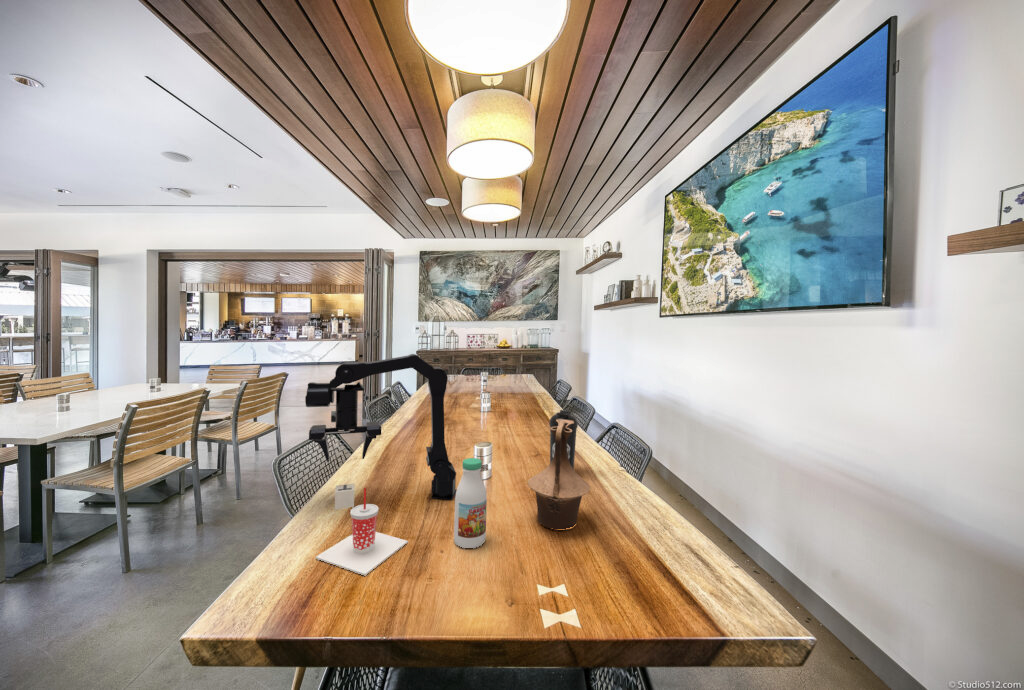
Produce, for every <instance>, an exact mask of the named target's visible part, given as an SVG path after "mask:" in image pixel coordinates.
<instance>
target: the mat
mask: <svg viewBox="0 0 1024 690" xmlns="http://www.w3.org/2000/svg"><path fill="white" fill-rule="evenodd" d="M407 543H408V544H409V541H408V540H407V539H402V538H399V537H395V536H392V535H389V534H386V533H382V532H378V531H376V533H375V545H374V549H373V550H372V551H370V552H368V553H364V554H357V553H355V552H354V551H353V535H352V534H350V535H349V536H347V537H345V538H344V539H342V540H340V541H339V542H337V543H336V544H334V545H332V546H331V547H329V548H328V549H326V550H323V552H320V554H317V555H316V556H315V560H316V559H318V560H317V561H319V560H321V561H324V562H327V563H330V564H333V565H336V566H339V567H341V568H344V569H347V570H350V571H353V572H355V573H358V574H361V575H364V576H366V575H367V574H368V573H369V572H370V571H372V570H373V569H374V568H375V567H377V566H378V565H379V564H381V563H382V562H383V561H385V560H386V559H387V558H388V557H390V556H391V555H392V554H394V553H395V552H396V551H398V550H399V549H400V548H401V549H402V547H403V546H404V545H405V544H407ZM408 544H407V545H408ZM405 546H406V545H405ZM405 546H404V547H405ZM404 547H403V548H404ZM401 549H400V550H401ZM400 550H399V551H400ZM399 551H398V552H399ZM396 553H397V552H396ZM396 553H395V554H396ZM395 554H394V555H395ZM392 556H393V555H392ZM392 556H391V557H392ZM391 557H390V558H391ZM387 560H388V559H387ZM387 560H386V561H387ZM321 561H320V562H321ZM386 561H385V562H386ZM324 562H323V563H324ZM327 563H326V564H327ZM383 563H384V562H383ZM383 563H382V564H383ZM330 564H329V565H330ZM382 564H381V565H382ZM333 565H332V566H333ZM336 566H335V567H336ZM378 567H379V566H378ZM378 567H377V568H378ZM341 568H340V569H341ZM344 569H343V570H344ZM347 570H346V571H347ZM350 571H349V572H350ZM373 571H374V570H373ZM373 571H372V572H373ZM353 572H352V573H353ZM355 573H354V574H355ZM358 574H357V575H358ZM369 574H370V573H369ZM369 574H368V575H369ZM361 575H360V576H361ZM368 575H367V576H368ZM364 576H363V577H364ZM367 576H366V577H367Z"/></svg>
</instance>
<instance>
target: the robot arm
mask: <svg viewBox="0 0 1024 690" xmlns="http://www.w3.org/2000/svg"><path fill="white" fill-rule="evenodd" d="M407 369H413V370H414V371H416V372H418V373H419V374H420V375H421V376H424V377H425V379H426V382H427V387H428V392H429V394H430V395H429V396H430V412H431V413H430V417H431V418H430V420H431V422H430V423H431V443H430V446H426V447H425V449H426V458H425V459H426V460H425V461H426V464H427V467H429V469H430V471H431V472H432V473H433V474H434V475H433V479H432V480H431V494H432V495H431V496H430V498H431V499H437V500H447V501H451V500H452V499H454V498H455V496H456V490H457V489H456V480H457V479H456V478H457V472H456V469H455V467H454V465H453V463H452V462H451V461H450V459H449V456H448V451H447V447H446V442H445V441H446V439H445V407H444V406H445V405H444V404H445V400H444V399H445V395H446V391H447V386H448V385H447V384H448V378H449V377H448V374H447V372H446V371H445V370H444V369H443V368H441V366H433V365H431V364H430V363H428V362H427V361H425V360H424V359H422V358H421V357H420V356H419V355H418V354H415V353H411V354H408V355H403V356H397V357H392V358H385V359H381V360H373V361H345V362H343V363H341V364H340V365H338V367H337V368H336V370H335V372H334V373H335V376H334V377H333V378H331V380H330V381H329V382H311V381H310V382H308V383H307V388H306V389H307V390H306V395H305V399H304V400H305V401H304V402H305V407H306V408H324V407H325V408H327V407H330V405H331V404H334V403H335V410H332V411H331V413H330V414H331V415H330V422H331V423H335V427H327V424H317V425H311V426H310V428H309V430H308V440H309V441H313V442H314V443H315V444H316V443H318V445H319V447H320V448H321V450H322V453H323V455H324V457H325V459H326V462H327V463H329V462H330V451H329V443H328V440H329V439H328V436H332V435H344V434H345V435H346V434H348V435H349V434H361V433H362V434H363V433H364V439H363V440H364V441H363V448H362V453H361V454H362V457H361V459H362V460H364V459H365V457H366V454H367V453H368V452H367V451H368V449H369V447H370V445H371V443H372V441H373V440H374V439H377V436H381V435H382V425H381V423H380V422H379V421H372V422H371V421H370V422H369V421H367V422H366V425H358V410H359V408H358V403H359V402H358V400H359V399H358V398H359V392H363V391H365V389H366V387H365V386H364V385H363V384H362V383H361V382H360V381H361V380H363V379H366V378H368V377H371V376H374V375H380V374H385V373H391V372H396V371H403V370H407ZM424 377H423V378H424ZM355 382H357V383H356V384H355ZM352 383H354V384H352ZM343 384H344V387H339V386H341V385H343Z"/></svg>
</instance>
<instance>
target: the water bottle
mask: <svg viewBox="0 0 1024 690" xmlns="http://www.w3.org/2000/svg"><path fill="white" fill-rule="evenodd" d="M571 413H572V412H571V410H567V409H566V410H565V409H560V410H559V412H556V413H555V414H554V415H552V416H551V417H550V419H549V424H548V425H549V427H550V428H549V429H550V432H549V436H550V437H549V439H550V440H549V464H550V463H551V461H552V460H553V457H554V454H555V437H554V435H553V433H552V432H551V427H556V426H558V423H557V422H556V420H557V419H562V420H571V421H574V424H572V425H571V426H570V427H569V429H571V430H572V433H571V434H570V436H569V438H568V439H567V453H568V459H569V462H570V464H571V466H572V468H573V470H574V471H575V456H576V455H575V454H576V442H577V429H578V426H579V425H578V424H579V422H578V419H577V418H576V417H575V416H574V415H572V414H571ZM567 424H568V423H565V426H566V425H567Z"/></svg>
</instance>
